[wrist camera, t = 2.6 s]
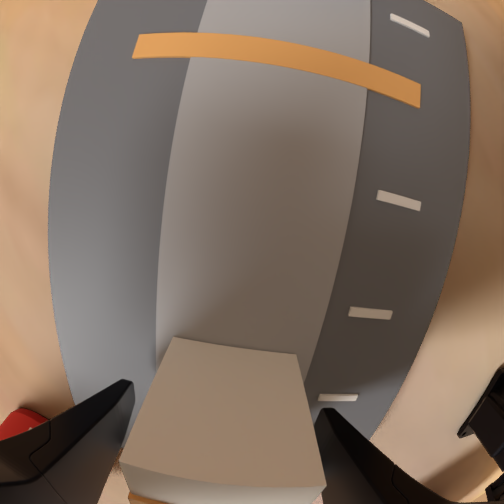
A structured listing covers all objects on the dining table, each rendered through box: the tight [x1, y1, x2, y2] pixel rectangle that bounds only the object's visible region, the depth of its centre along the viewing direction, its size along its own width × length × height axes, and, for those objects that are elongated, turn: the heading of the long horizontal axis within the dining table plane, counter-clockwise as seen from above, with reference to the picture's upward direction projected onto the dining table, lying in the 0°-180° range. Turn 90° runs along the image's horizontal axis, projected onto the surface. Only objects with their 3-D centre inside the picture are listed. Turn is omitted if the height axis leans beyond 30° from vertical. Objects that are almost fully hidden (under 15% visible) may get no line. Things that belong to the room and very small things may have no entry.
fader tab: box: [119, 337, 327, 504], centre depth 7 cm, size 4×4×5 cm
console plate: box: [48, 0, 470, 448], centre depth 8 cm, size 14×22×4 cm, turn 171°
